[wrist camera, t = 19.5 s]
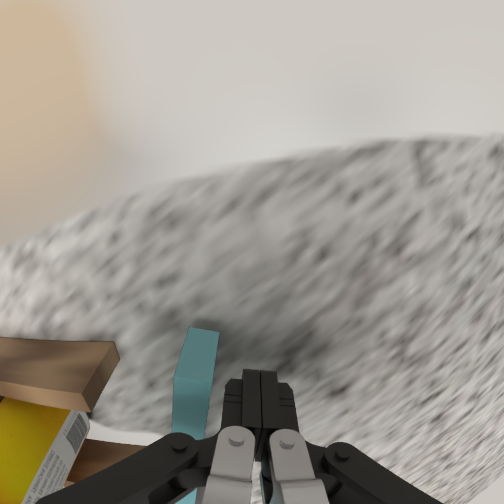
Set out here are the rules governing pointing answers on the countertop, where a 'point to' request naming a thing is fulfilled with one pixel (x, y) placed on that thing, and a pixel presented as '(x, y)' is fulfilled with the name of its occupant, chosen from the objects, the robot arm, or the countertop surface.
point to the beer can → (37, 449)
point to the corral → (64, 388)
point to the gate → (194, 390)
